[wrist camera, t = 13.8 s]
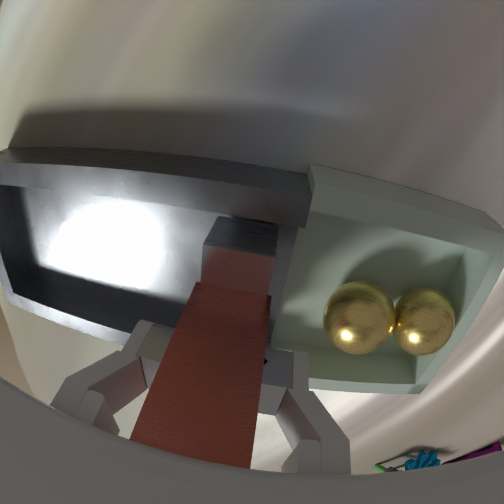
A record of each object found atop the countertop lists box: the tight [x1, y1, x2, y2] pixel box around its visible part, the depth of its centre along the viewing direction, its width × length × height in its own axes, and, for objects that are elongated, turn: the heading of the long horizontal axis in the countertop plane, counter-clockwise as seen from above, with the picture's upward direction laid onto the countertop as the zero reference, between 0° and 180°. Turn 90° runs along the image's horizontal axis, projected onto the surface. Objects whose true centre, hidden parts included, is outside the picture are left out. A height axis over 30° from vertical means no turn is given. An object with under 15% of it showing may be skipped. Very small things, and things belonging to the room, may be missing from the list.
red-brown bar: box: [129, 216, 279, 469], centre depth 10 cm, size 6×3×10 cm, turn 172°
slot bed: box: [0, 148, 312, 347], centre depth 14 cm, size 10×18×3 cm, turn 82°
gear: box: [374, 451, 440, 473], centre depth 26 cm, size 11×6×10 cm
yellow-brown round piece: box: [323, 280, 395, 355], centre depth 13 cm, size 4×4×4 cm
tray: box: [271, 164, 504, 394], centre depth 14 cm, size 11×10×3 cm
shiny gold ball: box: [392, 287, 455, 356], centre depth 13 cm, size 4×4×4 cm
